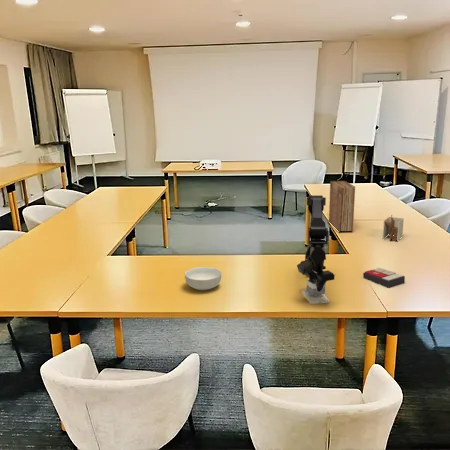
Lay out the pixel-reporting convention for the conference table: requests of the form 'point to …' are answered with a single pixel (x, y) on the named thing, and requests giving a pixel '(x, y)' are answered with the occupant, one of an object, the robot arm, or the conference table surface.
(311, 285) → the box
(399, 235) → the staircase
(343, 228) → the brown wooden block
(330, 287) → the conference table surface
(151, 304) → the conference table surface
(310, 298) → the hard drive
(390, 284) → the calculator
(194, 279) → the cereal bowl
